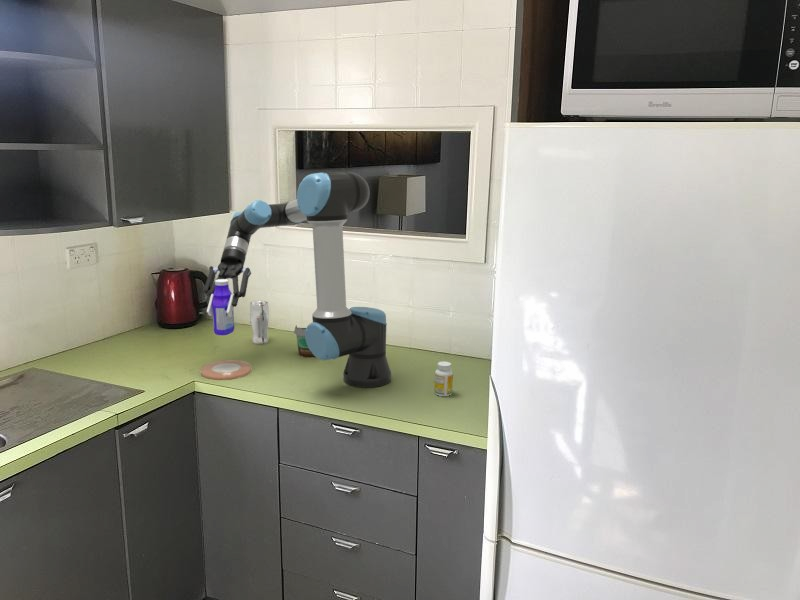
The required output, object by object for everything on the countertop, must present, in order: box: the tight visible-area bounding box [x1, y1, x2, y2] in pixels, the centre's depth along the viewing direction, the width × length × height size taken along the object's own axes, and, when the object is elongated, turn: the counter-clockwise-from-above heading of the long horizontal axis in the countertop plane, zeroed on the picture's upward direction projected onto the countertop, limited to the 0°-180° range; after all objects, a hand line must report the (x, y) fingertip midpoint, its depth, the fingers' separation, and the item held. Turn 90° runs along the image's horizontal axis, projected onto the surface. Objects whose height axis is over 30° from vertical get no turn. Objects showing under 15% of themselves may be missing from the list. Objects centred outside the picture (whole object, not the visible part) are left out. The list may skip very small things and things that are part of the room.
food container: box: [293, 324, 316, 358], centre depth 228 cm, size 12×6×10 cm, turn 80°
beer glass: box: [249, 300, 270, 345], centre depth 243 cm, size 7×7×15 cm
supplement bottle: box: [433, 361, 454, 397], centre depth 196 cm, size 5×5×10 cm
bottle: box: [212, 279, 235, 336], centre depth 208 cm, size 7×6×17 cm
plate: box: [200, 359, 252, 381], centre depth 213 cm, size 16×16×1 cm
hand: (218, 314), depth 205 cm, fingers closed on bottle, 6 cm apart
